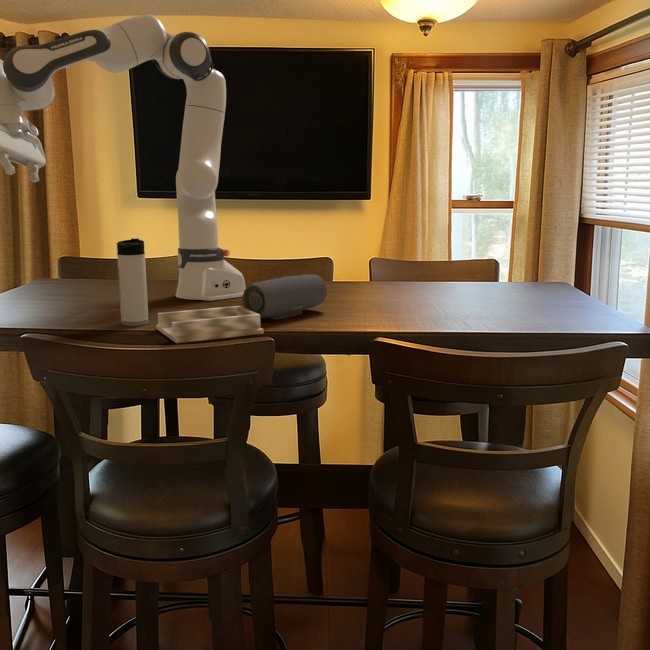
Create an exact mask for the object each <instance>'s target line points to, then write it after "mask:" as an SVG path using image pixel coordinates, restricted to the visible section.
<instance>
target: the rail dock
mask: <svg viewBox="0 0 650 650" xmlns="http://www.w3.org/2000/svg"><path fill="white" fill-rule="evenodd" d="M157 321H158V322H157V324H155V325H156V327H155V328H156V330H158V331H159V332H160V333H162V335H164V336H166V337H167V338H169V339H170V340H171V341H173V342H174V343H176V344H182V343H191V342H201V341H208V340H219V339H227V338H236V337H244V336H255V335H262V334H263V335H264V333H265V332H264V331H265V329H264V328H262V327H261V318H260V314H258V313H255V312H253V311H251V310H249V309H246V308H244V307H243V305H234V306H233V305H232V306H224V307H211V308H200V309H190V310H189V309H188V310H177V311H167V312H165V311H164V312H157Z"/></svg>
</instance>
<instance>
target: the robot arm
mask: <svg viewBox="0 0 650 650" xmlns="http://www.w3.org/2000/svg"><path fill="white" fill-rule="evenodd" d="M208 45H209V44H208V43H207V41H206V40H205V38H203V37H202V36H201V35H200V34H198V33H196V32H192V31H182V32H179V33H175V34H170V33H168V31H167V30H166V29H165V27H164V24H163V23H162V22H161V20H160V19H159V18H158V17H156V16H155V15H152V14H148V13H147V14H146V13H145V14H141V15H136V16H133V17H129V18H126V19H123V20H120V21H118V22H116V23H113V24H111V25H109V26H106V27H102V28H99V29H90V30H85V31H84V30H83V31H81V32H76V33H74V34H72V35H71V34H70V35H68V36H65V37H64V36H63V37H61V38H58V39H55V40H52V41H48V42H45V43H41V44H32V45H31V44H30V45H27V44H26V45H19V46H16V47H13V48H11V50H10V51H8V52H7V53H6V55H5V56H4V58H3V60H2V59H1V58H0V165H1V166H2V168H4V169H3V170H4V173H5V174H7V175H10V176H12V175H14V174H16V168H15V166H14V165H13V164H12V163H14V164H18V165H20V166H23V167H26V168H27V170H28V171H29V174H28V178H29V181H30V182H32V183H37V182H39V181H40V178H39V170H40V169H41V168H43V167H45V166H46V163H47V160H46V155H45V151H44V149H43V145H42V142H41V141H40V139H39V138H38V136H39V135H40V133H39V130H38V128H37V127H36V126H35V125H34V124H33V123H31V122H30V121H29V119H28V118H27V117H26V116H25V114H23V112H25V111H26V112H27V111H39V110H44V109H47V108H48V107H49V106H51V105H52V104H53V102H54V100H55V97H56V90H55V86H54V81H53V78H52V77H53V75H54V74H55V73H56V72H57V71H59V70H63V69H66V68H68V67H71V66H74V65H77V64H80V63H82V62H94V63H96V64H97V66H99V67H100V68H102V69H103V70H105V71H107V72H110V73H114V74H115V73H122V72H125V71H128V70H130V69H133V68H135V67H137V66H139V65H141V64H143V63H145V62H148V61H151V62H152V63H153V64H154V65H155V66H156V67H157V69H158V71H159V72H160V73H161V74H163V75H164V76H165V77H167V78H168V79H171V80H175V81H176V80H183V82H184V85H185V89H186V99H185V106H184V115H183V120H182V121H183V122H182V130H181V140H180V151H179V159H178V160H179V161H178V167H177V168H178V169H177V171H176V175H175V187H176V189H175V190H176V207H177V218H178V219H177V221H178V222H177V223H178V243H179V245H178V246H179V247H178V248H177V263H178V268H179V271H178V273H179V274H178V282H177V289H176V293H175V297H176V298H178V299H183V300H198V301H199V300H201V301H209V302H211V301H217V300H226V299H233V298H234V299H235V298H242V297H243V293H244V290H245V289H246V287H247V286H246V282H245V278H244V275H243V273H242V272H241V271H239V270H238V269H237V268H236V267H234V266H233V265H232V264H230V263H229V262H228V261H227V260H225V257H229V256H230V254H231V252H230V250H229V249H225V248H224V249H223V248H221V247H219V242H218V241H219V239H218V238H219V235H218V233H219V231H218V216H217V206H216V190H217V187H218V183H219V176H220V175H219V173H220V163H221V154H222V153H221V151H222V149H221V147H222V140H223V133H224V132H223V131H224V123H225V116H226V115H225V114H226V107H227V85H226V84H227V83H226V79H225V76H224V74H223V73H222V72H220V71H219V70H216V69H215V68H214V63H213V62H214V61H213V59H212V57H211V51H210V47H209V46H208Z"/></svg>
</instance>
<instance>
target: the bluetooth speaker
mask: <svg viewBox="0 0 650 650" xmlns="http://www.w3.org/2000/svg"><path fill="white" fill-rule="evenodd" d="M245 287H246V289H245V290H244V293H243V297H241V298H242V299H241V303H242V307H244V308H246V309H249V310H251V311H253V312H255V313H258V314H260V319H266V318H269V319H270V320H282V319H287V317H288V318H292V316H293V317H296V315H297V316H300V315H302V314H303V311H305V310H309V309H311V308H315V307H317V306H319V305H321V304H323V303H324V302H325V300H326V299H327V295H328V290H327V285H326V283H325V281H324V279H323V278H322V276H320V275H318V274H297V275H291V276H290V275H289V276H282V277H276V278H271V279H268V280H267V279H266V280H262V281H258V282H254V283H252V284H249V285H247V286H245ZM299 314H300V315H299Z"/></svg>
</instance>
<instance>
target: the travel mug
mask: <svg viewBox="0 0 650 650" xmlns="http://www.w3.org/2000/svg"><path fill="white" fill-rule="evenodd" d="M116 249H117V251H116V252H117V253H116V255H117V259H116V260H117V272H118V275H117V277H118V288H119V289H118V290H119V291H118V292H119V307H120V317H121V318H120V320H121V321H120V323H121V325H122V326H124V327H142V326H145V325H147V324H148V323H149V308H148V307H149V306H148V288H147V287H148V285H147V271H146V270H147V268H146V253H145V241H144V240H142V239H140V238H130V239H125V240H120V241H118V242H117V243H116Z"/></svg>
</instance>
